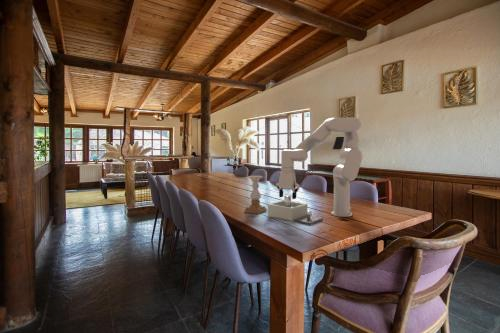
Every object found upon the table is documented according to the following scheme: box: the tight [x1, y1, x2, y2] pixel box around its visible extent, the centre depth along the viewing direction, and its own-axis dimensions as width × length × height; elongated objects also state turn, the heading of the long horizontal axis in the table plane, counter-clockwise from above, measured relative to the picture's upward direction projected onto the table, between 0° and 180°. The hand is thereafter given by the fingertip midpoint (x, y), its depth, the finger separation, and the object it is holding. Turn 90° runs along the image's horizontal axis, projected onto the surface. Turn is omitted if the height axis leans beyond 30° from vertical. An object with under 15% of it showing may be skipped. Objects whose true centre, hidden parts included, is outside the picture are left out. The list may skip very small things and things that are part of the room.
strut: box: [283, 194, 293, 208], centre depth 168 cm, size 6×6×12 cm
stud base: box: [294, 209, 324, 226], centre depth 158 cm, size 14×10×6 cm
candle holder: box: [244, 175, 268, 215], centre depth 182 cm, size 11×11×24 cm
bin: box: [267, 200, 308, 223], centre depth 169 cm, size 16×18×8 cm
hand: (287, 197), depth 168 cm, fingers open, 9 cm apart
